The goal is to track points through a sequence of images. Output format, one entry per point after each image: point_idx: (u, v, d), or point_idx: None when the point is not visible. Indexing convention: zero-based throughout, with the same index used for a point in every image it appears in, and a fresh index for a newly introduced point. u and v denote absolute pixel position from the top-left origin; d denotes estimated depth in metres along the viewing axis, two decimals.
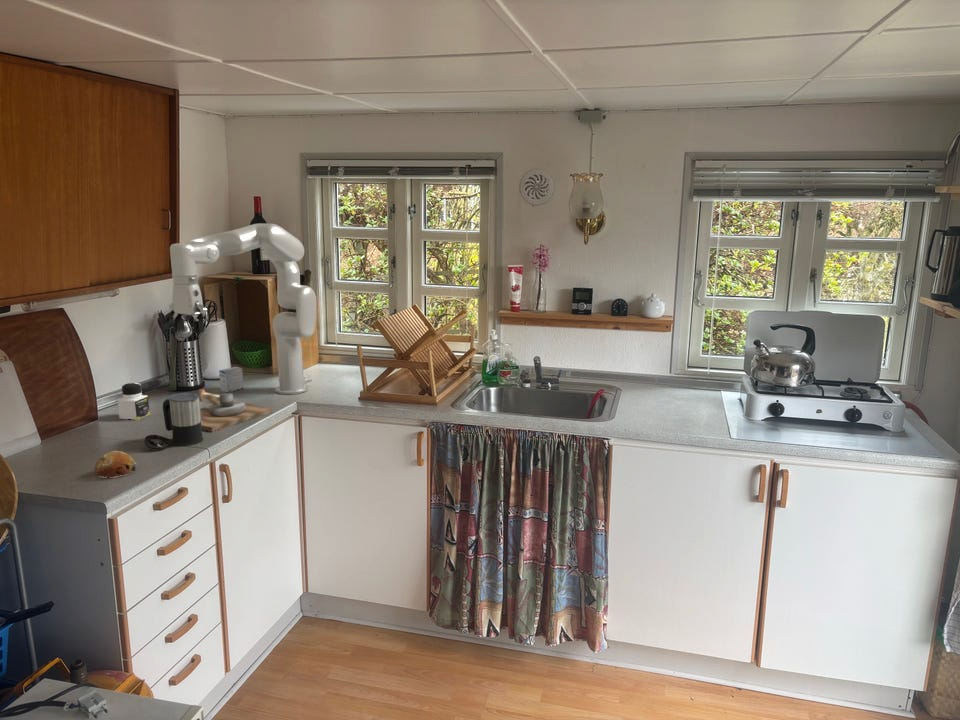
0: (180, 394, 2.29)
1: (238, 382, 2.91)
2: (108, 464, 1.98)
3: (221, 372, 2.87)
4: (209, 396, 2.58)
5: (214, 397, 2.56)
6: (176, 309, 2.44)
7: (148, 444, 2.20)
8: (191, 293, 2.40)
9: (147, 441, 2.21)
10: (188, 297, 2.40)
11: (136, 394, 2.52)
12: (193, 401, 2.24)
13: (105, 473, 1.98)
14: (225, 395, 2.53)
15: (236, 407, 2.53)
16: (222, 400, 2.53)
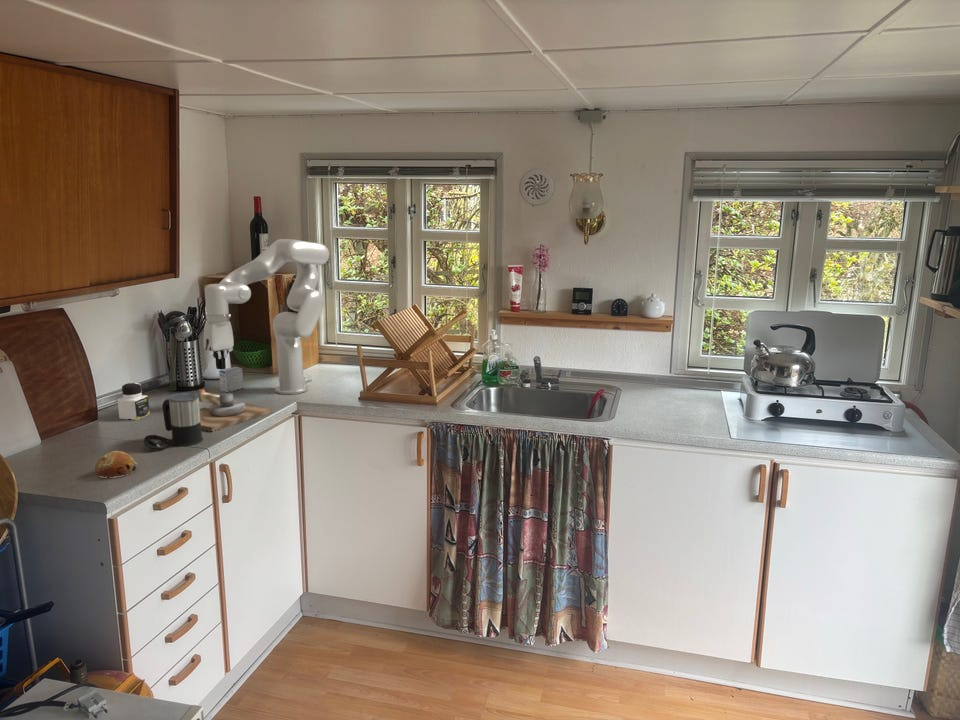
0: (180, 394, 2.29)
1: (238, 382, 2.91)
2: (109, 464, 1.98)
3: (221, 372, 2.87)
4: (209, 396, 2.58)
5: (214, 397, 2.56)
6: (217, 347, 2.59)
7: (147, 444, 2.20)
8: None
9: (146, 441, 2.21)
10: (231, 332, 2.63)
11: (136, 394, 2.52)
12: (193, 402, 2.24)
13: (105, 474, 1.98)
14: (225, 395, 2.53)
15: (236, 407, 2.53)
16: (222, 400, 2.53)
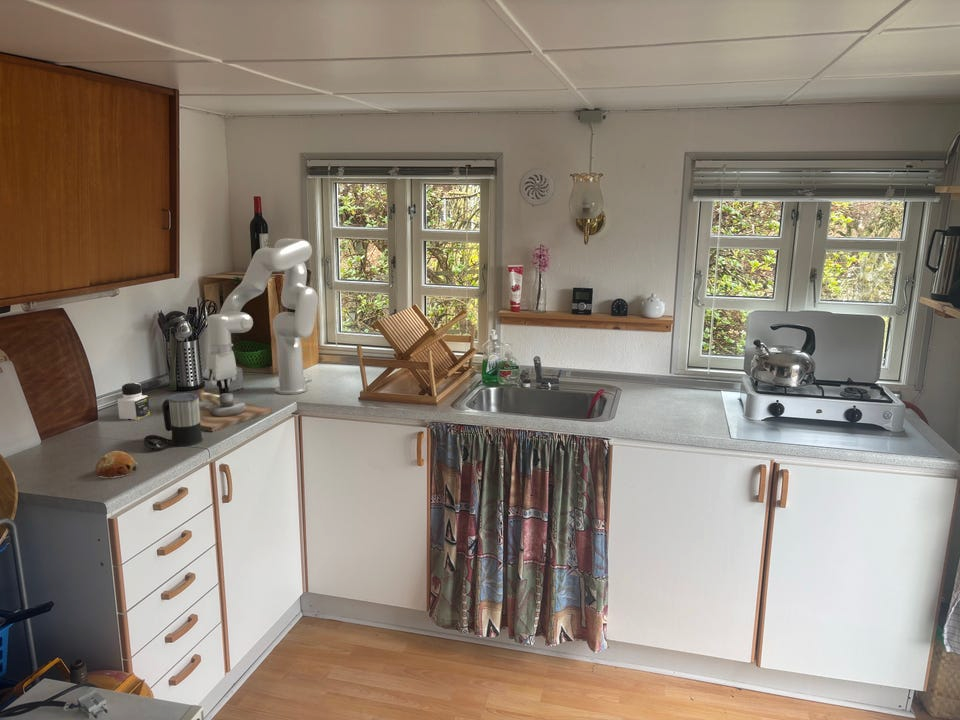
0: (180, 394, 2.29)
1: (238, 382, 2.91)
2: (109, 464, 1.98)
3: None
4: (209, 396, 2.58)
5: (214, 397, 2.56)
6: (220, 376, 2.61)
7: (147, 444, 2.20)
8: None
9: (146, 441, 2.21)
10: (234, 361, 2.66)
11: (136, 394, 2.52)
12: (193, 402, 2.24)
13: (106, 474, 1.98)
14: (225, 395, 2.53)
15: (236, 407, 2.53)
16: (222, 400, 2.53)
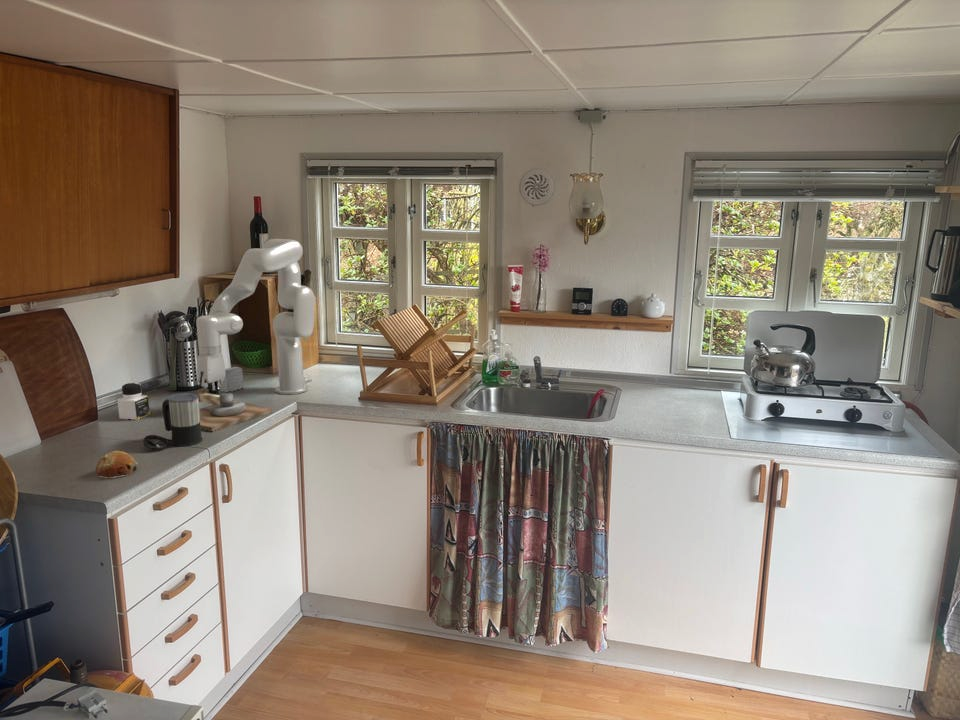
0: (179, 394, 2.29)
1: (238, 382, 2.91)
2: (109, 464, 1.98)
3: None
4: (209, 396, 2.58)
5: (214, 397, 2.56)
6: (212, 378, 2.58)
7: (147, 444, 2.20)
8: None
9: (146, 441, 2.21)
10: (223, 362, 2.63)
11: (136, 394, 2.52)
12: (192, 402, 2.24)
13: (106, 474, 1.98)
14: (225, 395, 2.53)
15: (236, 407, 2.53)
16: (222, 401, 2.53)
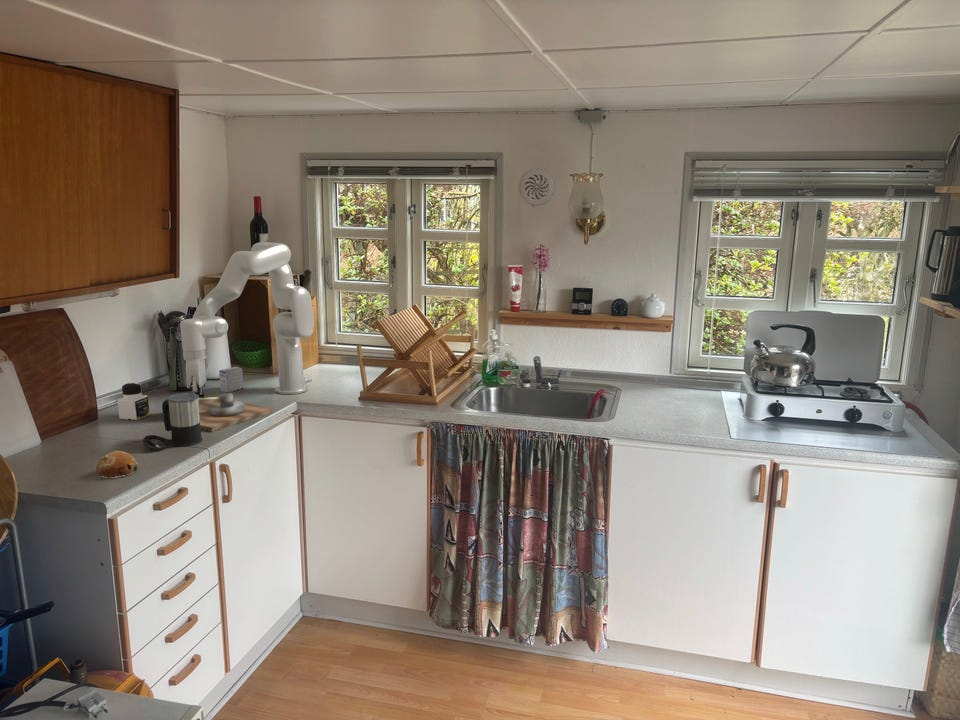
0: (179, 394, 2.28)
1: (238, 382, 2.91)
2: (110, 464, 1.98)
3: (221, 372, 2.87)
4: (203, 400, 2.53)
5: (210, 400, 2.53)
6: (202, 382, 2.53)
7: (147, 444, 2.20)
8: None
9: (146, 441, 2.21)
10: None
11: (136, 394, 2.52)
12: (192, 402, 2.24)
13: (107, 474, 1.98)
14: (227, 395, 2.54)
15: (240, 404, 2.56)
16: (227, 400, 2.53)
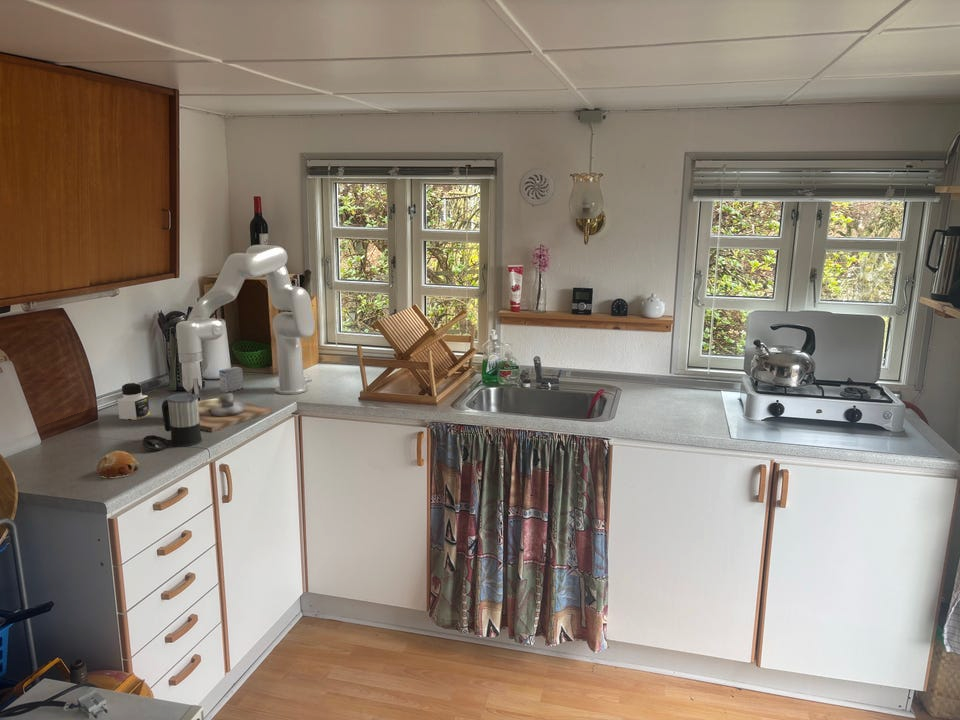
0: (179, 395, 2.28)
1: (238, 382, 2.91)
2: (110, 464, 1.98)
3: (221, 372, 2.87)
4: (204, 402, 2.50)
5: (212, 401, 2.51)
6: None
7: (146, 445, 2.19)
8: None
9: (145, 442, 2.21)
10: None
11: (136, 394, 2.52)
12: (192, 402, 2.23)
13: (107, 474, 1.98)
14: (228, 395, 2.54)
15: (240, 403, 2.58)
16: (229, 400, 2.53)
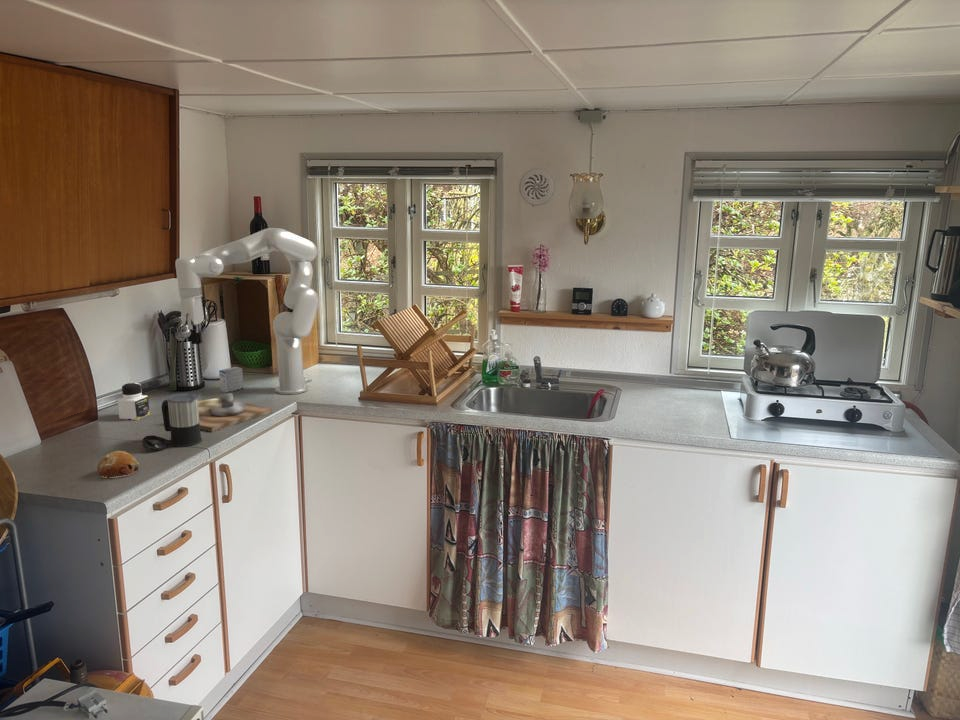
0: (179, 395, 2.28)
1: (238, 382, 2.91)
2: (111, 464, 1.98)
3: (221, 372, 2.87)
4: (204, 402, 2.50)
5: (212, 401, 2.51)
6: (197, 320, 2.56)
7: (146, 445, 2.19)
8: None
9: (145, 442, 2.21)
10: None
11: (136, 394, 2.52)
12: (191, 402, 2.23)
13: (108, 474, 1.98)
14: (228, 395, 2.54)
15: (240, 403, 2.58)
16: (229, 400, 2.53)
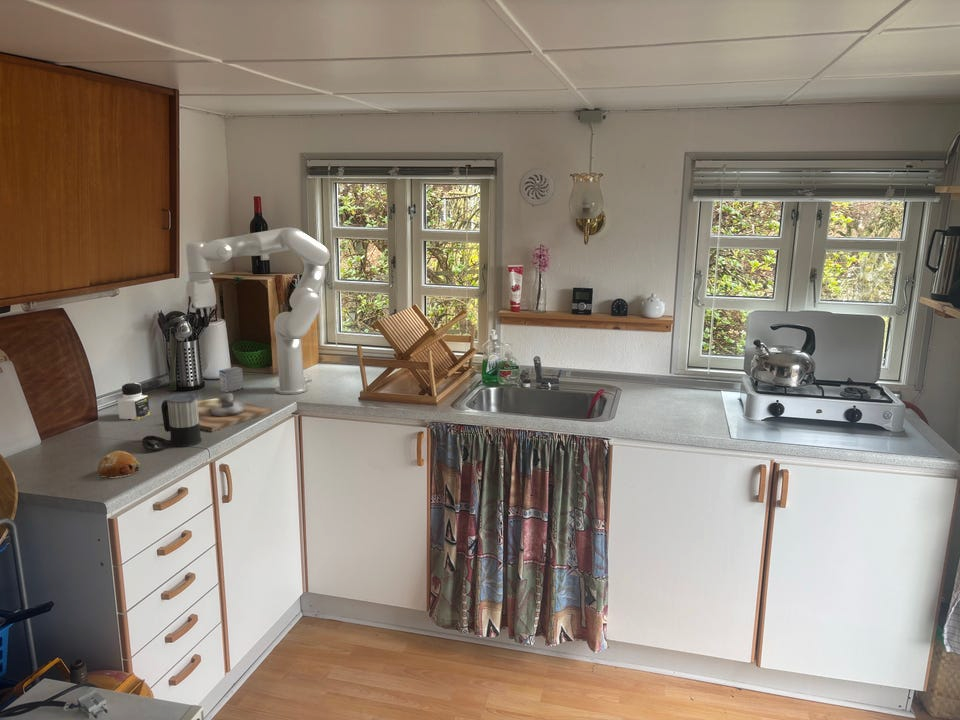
0: (178, 395, 2.28)
1: (238, 382, 2.91)
2: (111, 464, 1.98)
3: (221, 372, 2.87)
4: (204, 402, 2.50)
5: (212, 401, 2.51)
6: (199, 304, 2.62)
7: (145, 445, 2.19)
8: None
9: (144, 442, 2.20)
10: (213, 290, 2.67)
11: (136, 394, 2.52)
12: (191, 402, 2.23)
13: (108, 474, 1.98)
14: (228, 395, 2.54)
15: (240, 403, 2.58)
16: (229, 400, 2.53)
